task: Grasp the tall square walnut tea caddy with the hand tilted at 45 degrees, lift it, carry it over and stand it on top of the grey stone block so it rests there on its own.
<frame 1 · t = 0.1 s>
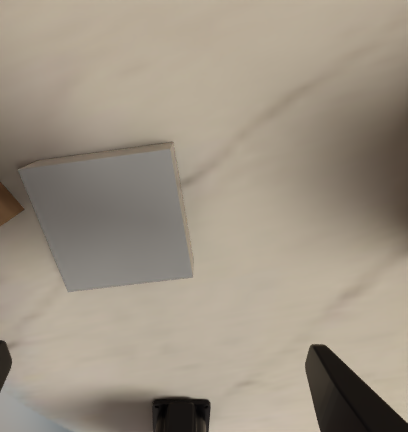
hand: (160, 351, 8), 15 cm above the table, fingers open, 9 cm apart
stone block: (123, 211, 23), on the table
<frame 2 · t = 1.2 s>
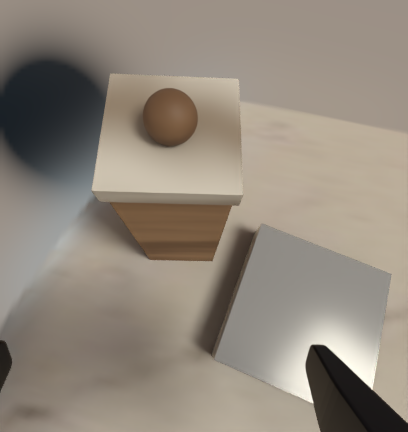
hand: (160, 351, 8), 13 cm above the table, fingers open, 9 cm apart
stone block: (293, 314, 22), on the table
tea caddy: (182, 230, 24), on the table
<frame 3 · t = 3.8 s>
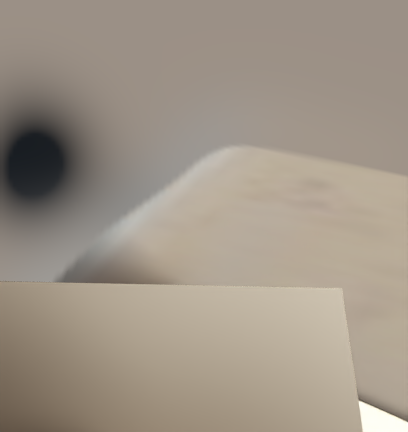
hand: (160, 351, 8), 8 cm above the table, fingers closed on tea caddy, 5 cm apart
tea caddy: (173, 365, 15), on the table, touching gripper
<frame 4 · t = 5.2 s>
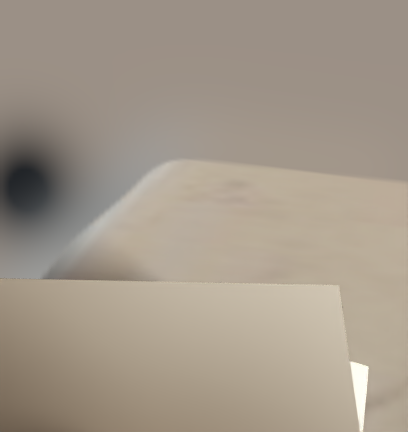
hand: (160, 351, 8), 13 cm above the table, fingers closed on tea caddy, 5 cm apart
stone block: (265, 413, 20), on the table
tea caddy: (173, 364, 15), point 6 cm above the table, touching gripper
when the fingers open (11 cm above the table, at t = 6.6 s): tea caddy drops 1 cm, resting on stone block.
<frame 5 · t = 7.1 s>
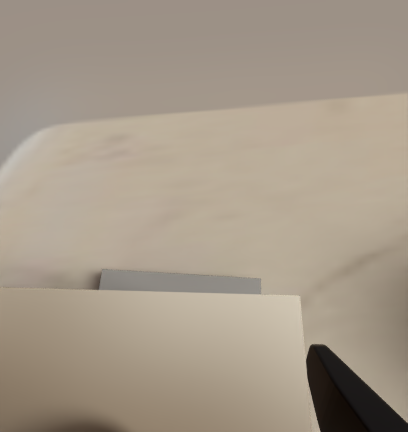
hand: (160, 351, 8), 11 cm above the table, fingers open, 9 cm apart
stone block: (177, 355, 19), on the table, touching tea caddy
tea caddy: (173, 363, 16), point 2 cm above the table, touching stone block
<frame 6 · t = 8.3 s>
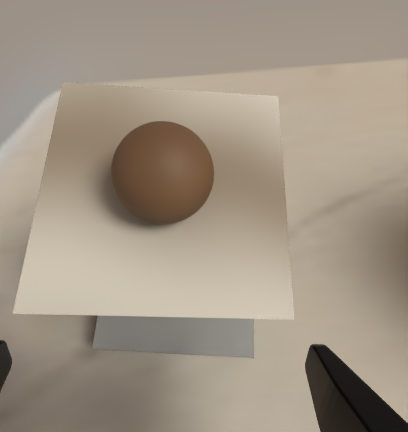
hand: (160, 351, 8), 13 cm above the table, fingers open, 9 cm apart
stone block: (181, 277, 22), on the table
tea caddy: (178, 268, 19), point 3 cm above the table
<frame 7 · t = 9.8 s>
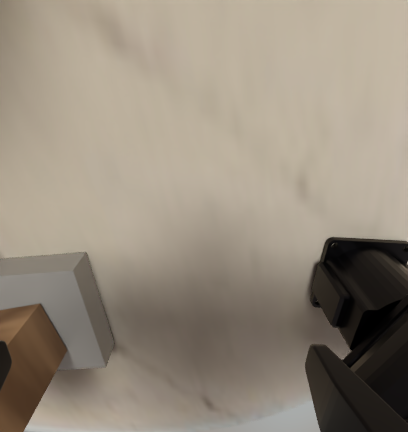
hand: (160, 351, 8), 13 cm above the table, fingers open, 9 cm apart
stone block: (47, 301, 25), on the table, touching tea caddy
tea caddy: (25, 332, 22), point 3 cm above the table, touching stone block
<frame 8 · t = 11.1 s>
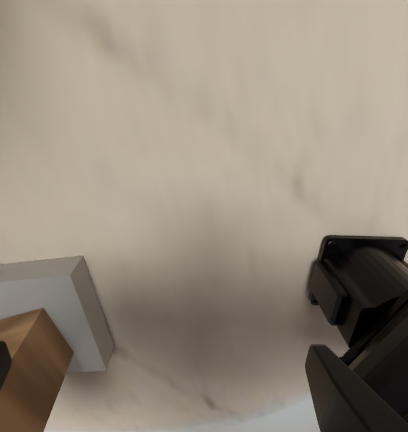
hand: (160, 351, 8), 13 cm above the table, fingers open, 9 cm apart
stone block: (46, 306, 25), on the table, touching tea caddy
tea caddy: (29, 339, 22), point 3 cm above the table, touching stone block
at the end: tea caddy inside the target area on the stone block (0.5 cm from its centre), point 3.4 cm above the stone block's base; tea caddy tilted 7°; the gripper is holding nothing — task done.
